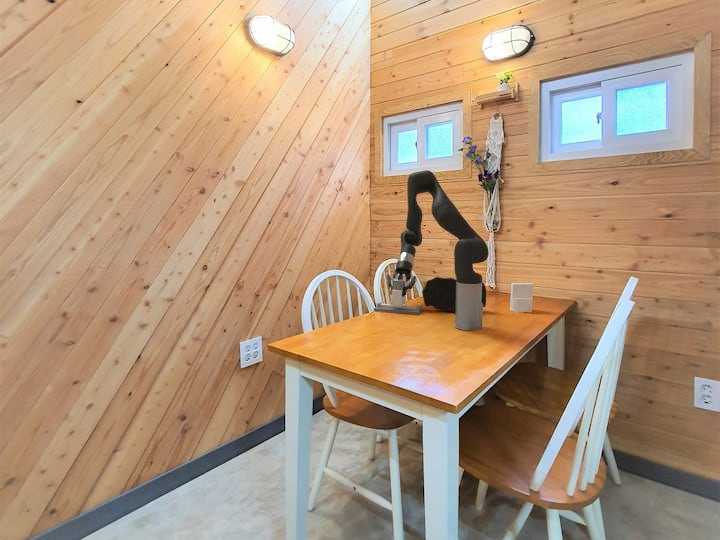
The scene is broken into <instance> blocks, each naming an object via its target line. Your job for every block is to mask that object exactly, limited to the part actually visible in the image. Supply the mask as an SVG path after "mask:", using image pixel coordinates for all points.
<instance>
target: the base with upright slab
mask: <svg viewBox="0 0 720 540" xmlns="http://www.w3.org/2000/svg"><path fill="white" fill-rule="evenodd" d="M533 297H534V283H532V282H511V283H510V300H509V301H510V302H509V303H510V305H509V310H510V311H511V312H513V311H514V312H515V313H519V312H530V313H532V312H533V299H534V298H533ZM514 312H513V313H514Z"/></svg>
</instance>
